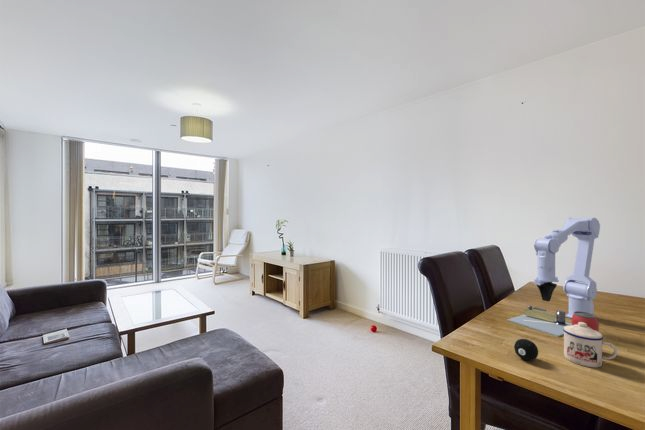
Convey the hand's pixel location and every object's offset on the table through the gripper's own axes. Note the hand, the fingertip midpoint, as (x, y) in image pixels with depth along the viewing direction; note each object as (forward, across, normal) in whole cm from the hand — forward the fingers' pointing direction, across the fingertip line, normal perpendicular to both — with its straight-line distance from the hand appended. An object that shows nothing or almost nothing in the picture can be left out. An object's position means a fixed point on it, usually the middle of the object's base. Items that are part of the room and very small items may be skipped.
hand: (546, 300), depth 115 cm
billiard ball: (+10, -38, -11) cm, 41 cm away
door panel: (+10, 0, +1) cm, 10 cm away
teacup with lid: (+10, -23, -21) cm, 33 cm away
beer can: (+10, -14, -17) cm, 24 cm away
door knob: (+10, +5, -3) cm, 11 cm away
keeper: (+10, +8, +6) cm, 14 cm away
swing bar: (+9, +4, +4) cm, 10 cm away
